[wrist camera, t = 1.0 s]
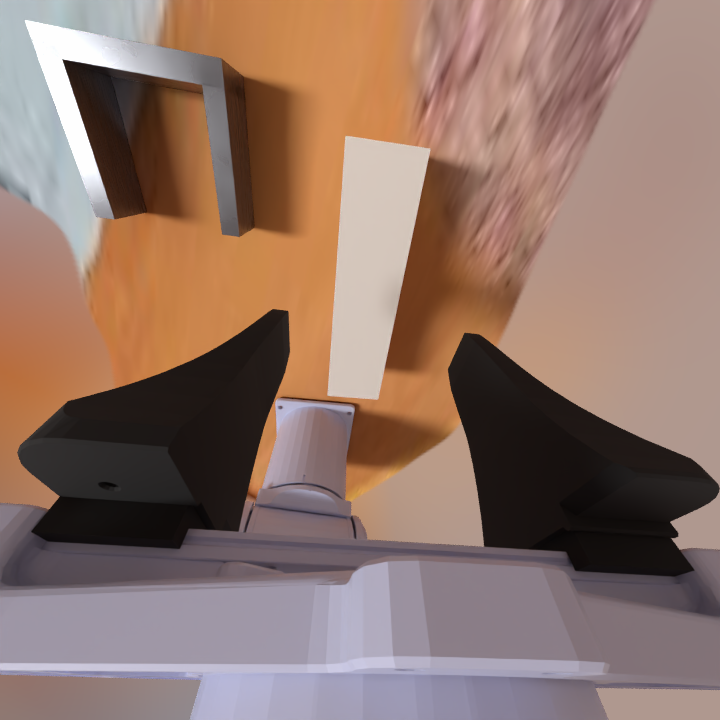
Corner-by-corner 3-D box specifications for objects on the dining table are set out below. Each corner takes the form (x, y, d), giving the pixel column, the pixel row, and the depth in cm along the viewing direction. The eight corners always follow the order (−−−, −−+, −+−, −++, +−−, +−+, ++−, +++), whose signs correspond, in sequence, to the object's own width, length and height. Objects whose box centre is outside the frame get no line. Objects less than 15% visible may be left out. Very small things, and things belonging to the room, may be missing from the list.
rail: (374, 363, 26) (377, 399, 22) (331, 359, 26) (327, 395, 22) (412, 153, 17) (430, 148, 13) (347, 143, 17) (345, 135, 13)
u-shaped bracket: (254, 227, 19) (239, 236, 17) (130, 210, 18) (96, 216, 16) (243, 76, 15) (221, 58, 12) (82, 45, 14) (24, 20, 12)
